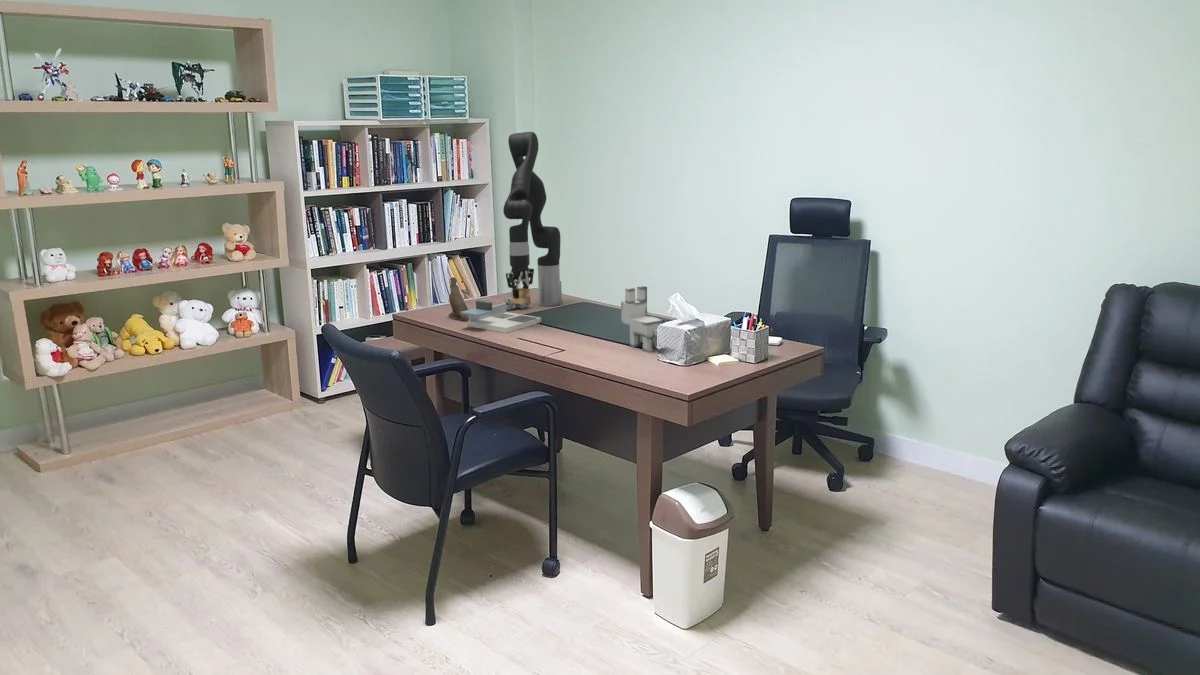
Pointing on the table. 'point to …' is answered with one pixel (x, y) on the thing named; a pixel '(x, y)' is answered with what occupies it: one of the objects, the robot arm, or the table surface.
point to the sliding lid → (480, 309)
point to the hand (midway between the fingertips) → (520, 296)
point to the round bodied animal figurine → (510, 304)
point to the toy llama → (639, 319)
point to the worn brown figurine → (457, 302)
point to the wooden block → (522, 296)
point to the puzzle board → (502, 320)
